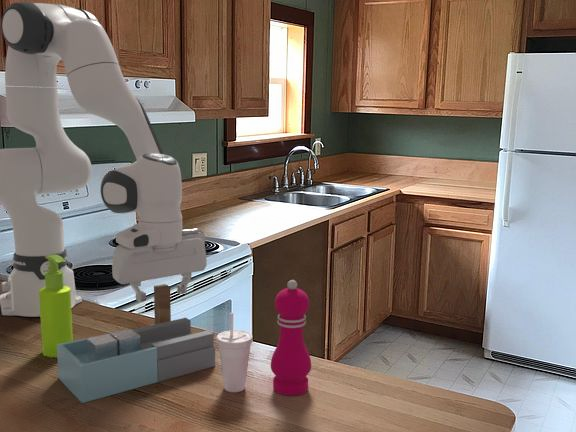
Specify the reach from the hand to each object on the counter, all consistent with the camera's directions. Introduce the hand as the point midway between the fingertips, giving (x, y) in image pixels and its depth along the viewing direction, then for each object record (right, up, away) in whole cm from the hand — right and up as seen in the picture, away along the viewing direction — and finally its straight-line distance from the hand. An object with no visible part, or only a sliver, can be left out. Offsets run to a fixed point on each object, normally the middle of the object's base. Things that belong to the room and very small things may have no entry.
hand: (161, 296), depth 133 cm
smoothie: (+17, -14, -20) cm, 30 cm away
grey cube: (-3, -9, -17) cm, 19 cm away
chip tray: (-6, -13, -18) cm, 23 cm away
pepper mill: (+27, -14, -20) cm, 37 cm away
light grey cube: (-7, -9, -19) cm, 22 cm away
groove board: (+4, -12, -10) cm, 16 cm away
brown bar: (0, -10, +1) cm, 10 cm away
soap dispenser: (-20, -11, -6) cm, 23 cm away
